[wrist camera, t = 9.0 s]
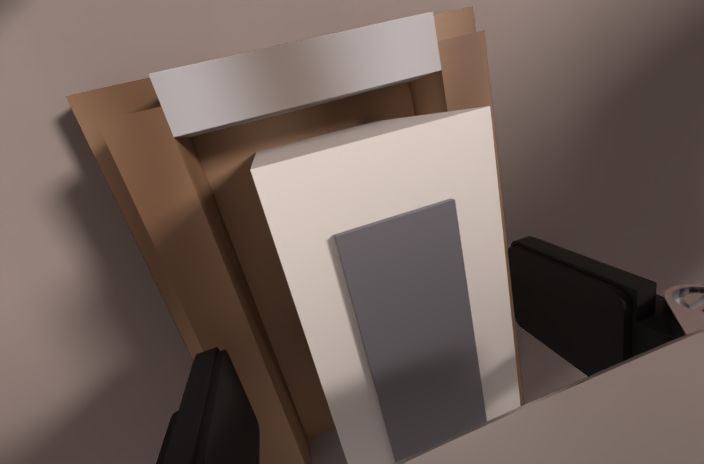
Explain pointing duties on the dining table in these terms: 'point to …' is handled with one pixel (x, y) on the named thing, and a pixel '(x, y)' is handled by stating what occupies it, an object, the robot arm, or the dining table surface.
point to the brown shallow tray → (242, 197)
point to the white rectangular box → (397, 276)
